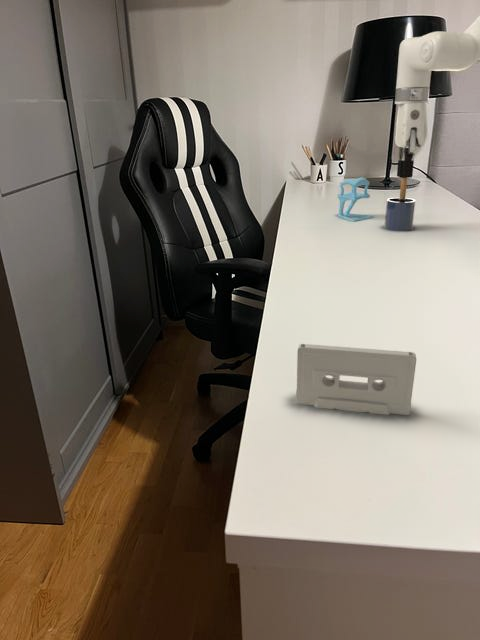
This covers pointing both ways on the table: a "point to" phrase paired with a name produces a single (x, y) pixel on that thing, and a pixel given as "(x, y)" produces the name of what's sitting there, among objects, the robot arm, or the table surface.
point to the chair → (352, 197)
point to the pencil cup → (399, 214)
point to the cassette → (359, 363)
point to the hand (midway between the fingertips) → (404, 176)
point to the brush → (403, 190)
